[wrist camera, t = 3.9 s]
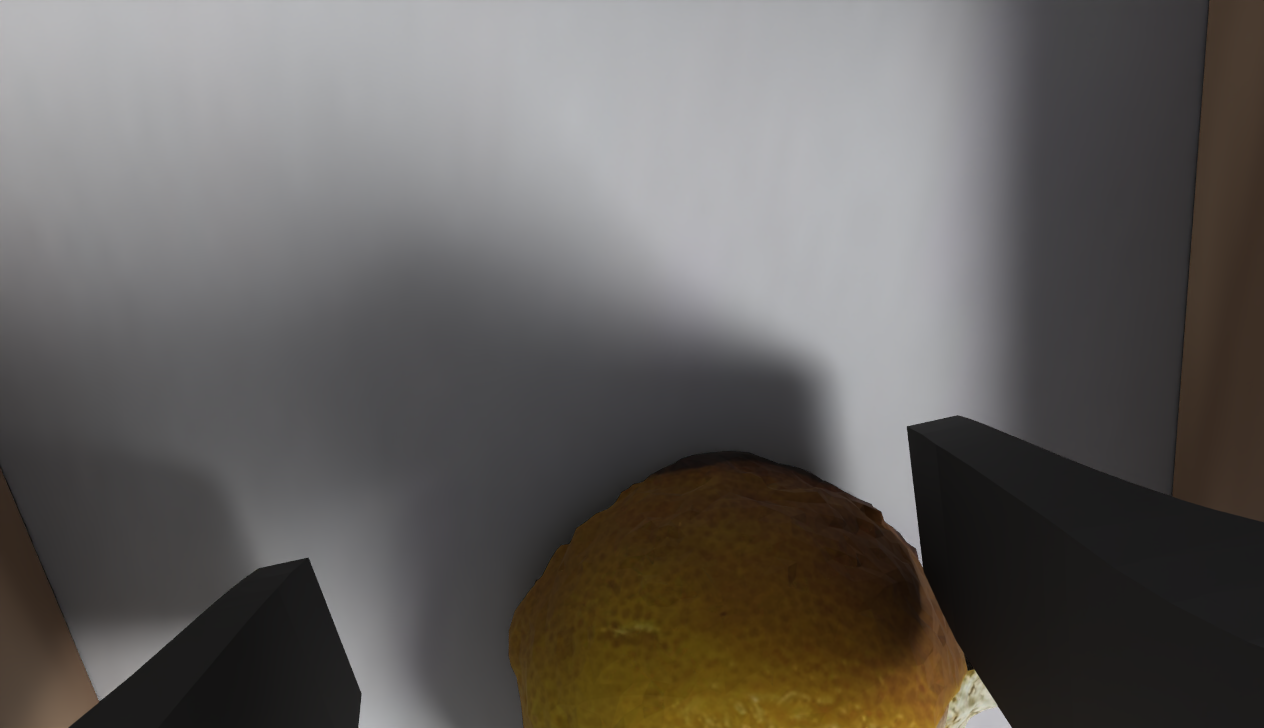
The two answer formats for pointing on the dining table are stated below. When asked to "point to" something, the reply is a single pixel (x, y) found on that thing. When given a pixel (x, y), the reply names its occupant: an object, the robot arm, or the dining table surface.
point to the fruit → (738, 612)
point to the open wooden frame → (1208, 407)
